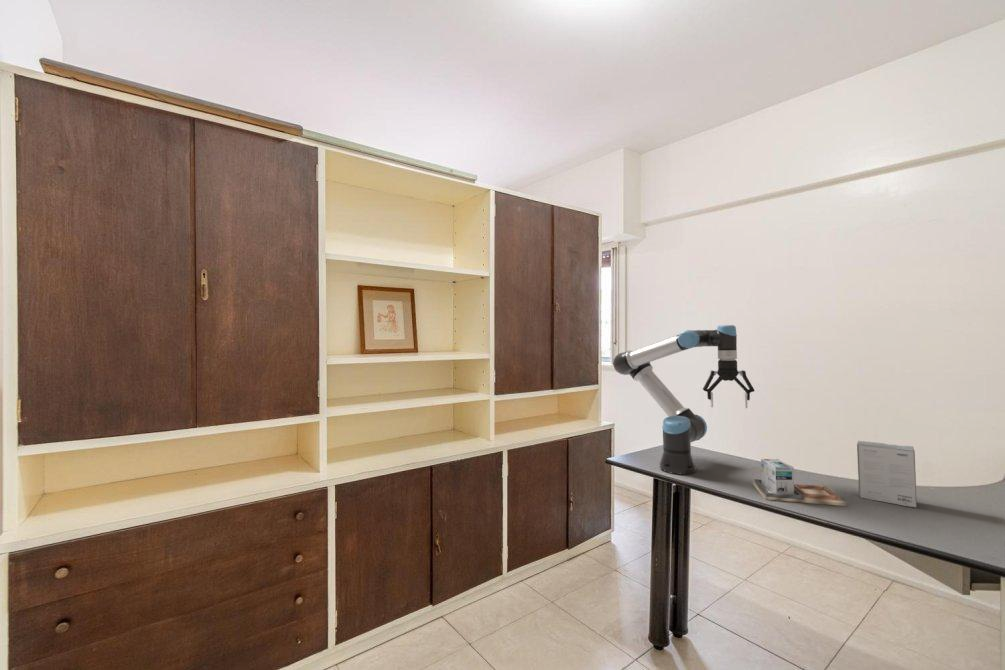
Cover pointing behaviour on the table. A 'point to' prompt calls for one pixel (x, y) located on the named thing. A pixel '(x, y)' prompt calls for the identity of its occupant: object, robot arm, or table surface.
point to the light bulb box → (777, 476)
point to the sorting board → (802, 494)
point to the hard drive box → (887, 473)
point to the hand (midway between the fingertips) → (728, 407)
